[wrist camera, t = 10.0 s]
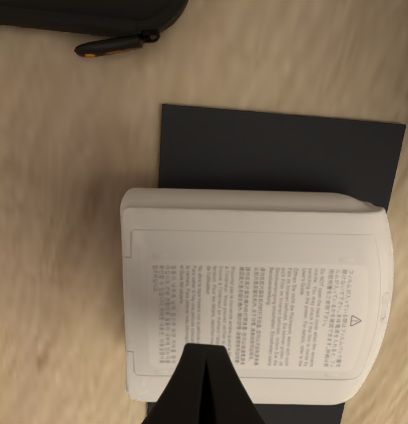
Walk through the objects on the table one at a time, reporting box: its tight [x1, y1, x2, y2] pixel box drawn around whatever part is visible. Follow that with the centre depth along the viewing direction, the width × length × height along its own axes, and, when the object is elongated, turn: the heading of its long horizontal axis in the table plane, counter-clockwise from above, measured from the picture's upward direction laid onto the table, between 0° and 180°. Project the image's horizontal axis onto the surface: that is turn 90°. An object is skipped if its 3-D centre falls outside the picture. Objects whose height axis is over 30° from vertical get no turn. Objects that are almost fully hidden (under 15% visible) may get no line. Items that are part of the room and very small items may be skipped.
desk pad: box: [147, 104, 406, 424], centre depth 18 cm, size 12×20×1 cm, turn 175°
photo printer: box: [120, 188, 394, 405], centre depth 15 cm, size 10×4×12 cm
